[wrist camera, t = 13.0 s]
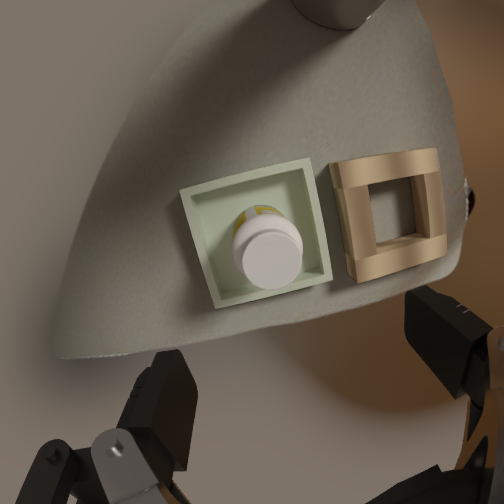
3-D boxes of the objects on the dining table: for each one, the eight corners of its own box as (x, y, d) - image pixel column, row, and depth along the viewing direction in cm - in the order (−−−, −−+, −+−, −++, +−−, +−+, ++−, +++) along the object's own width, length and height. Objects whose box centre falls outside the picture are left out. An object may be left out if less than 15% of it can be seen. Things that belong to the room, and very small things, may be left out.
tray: (217, 298, 30) (215, 309, 28) (184, 188, 27) (179, 190, 24) (326, 271, 30) (333, 279, 27) (303, 159, 26) (309, 157, 24)
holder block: (347, 273, 30) (357, 283, 27) (328, 163, 27) (337, 162, 24) (432, 247, 29) (446, 254, 27) (421, 148, 26) (436, 147, 23)
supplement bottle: (246, 266, 29) (249, 311, 19) (224, 217, 27) (215, 240, 18) (296, 245, 28) (322, 281, 19) (276, 195, 27) (295, 207, 17)
